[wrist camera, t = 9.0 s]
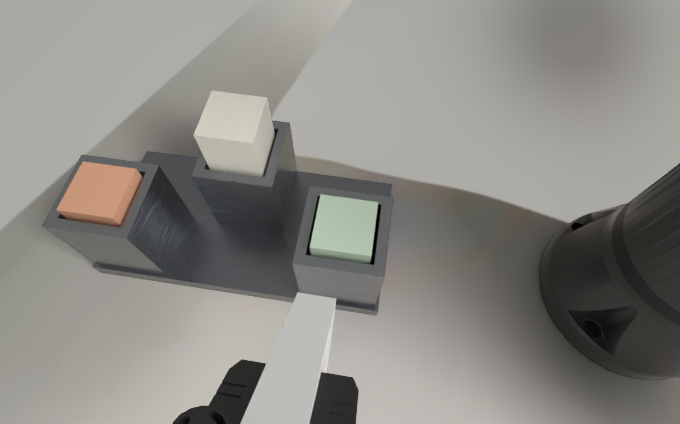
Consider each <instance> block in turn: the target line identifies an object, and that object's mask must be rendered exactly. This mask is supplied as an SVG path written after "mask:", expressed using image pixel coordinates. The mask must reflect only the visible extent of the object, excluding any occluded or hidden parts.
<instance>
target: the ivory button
mask: <svg viewBox="0 0 680 424" xmlns="http://www.w3.org/2000/svg"><path fill="white" fill-rule="evenodd" d="M194 137H195V140H196V142H197V144H198V146H199V148H200V150H201V152H202V154H203V156H204V158H205V160H206V162H207V164H208V166H209V168H210V170H214V171H221V172H228V173H236V174H243V175H250V176H257V177H265V174H266V171H267V167H268V164H269V160H270V157H271V153H272V150H273V146H274V143H275V139H276V137H275V132H274V127H273V123H272V118H271V113H270V108H269V103H268V99H267V97H260V96H252V95H244V94H236V93H228V92H220V91H211V93H210V96H209V98H208V101H207V103H206V105H205V108H204V110H203V113H202V115H201V118H200V120H199V123H198V125H197V127H196V130H195V132H194Z"/></svg>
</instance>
